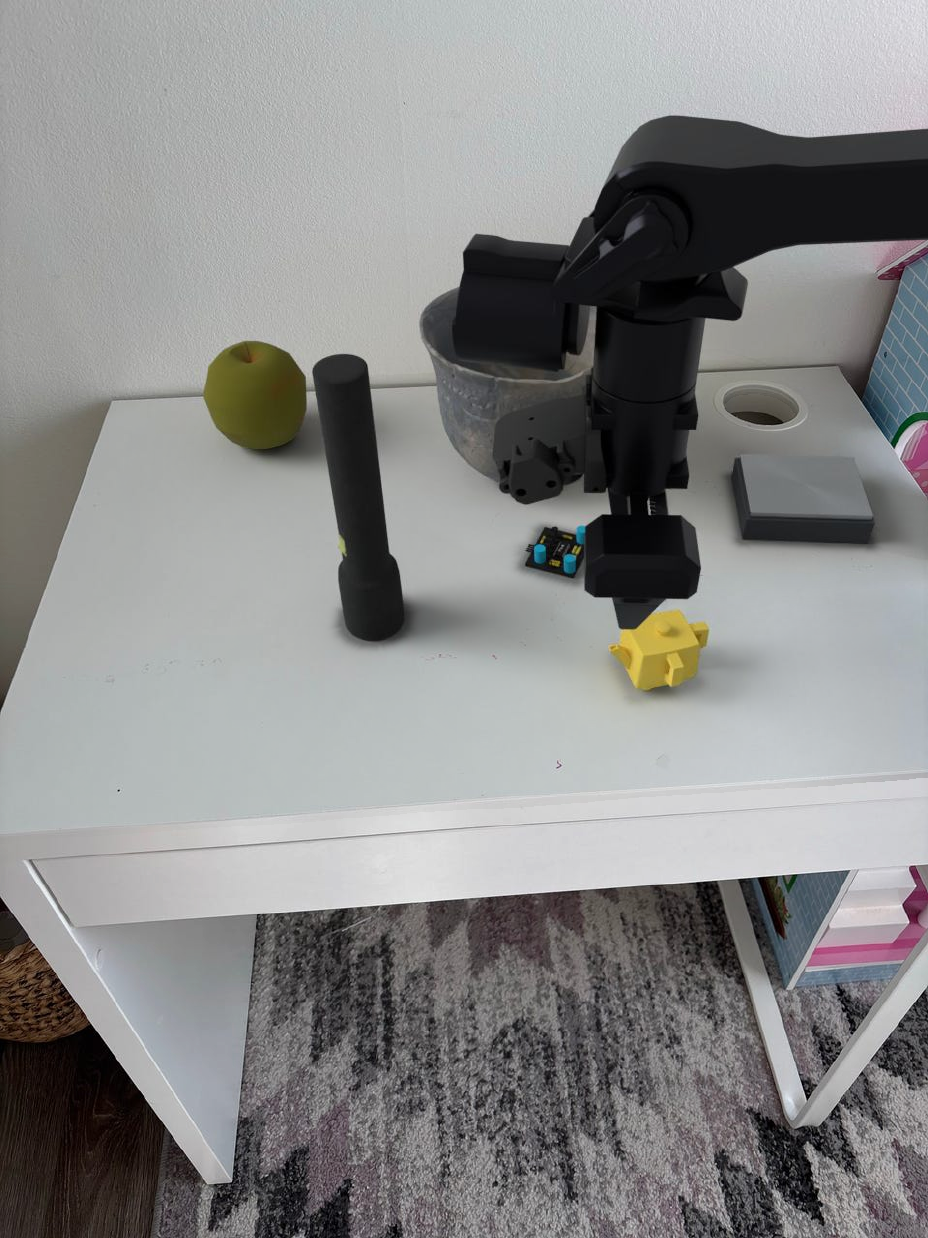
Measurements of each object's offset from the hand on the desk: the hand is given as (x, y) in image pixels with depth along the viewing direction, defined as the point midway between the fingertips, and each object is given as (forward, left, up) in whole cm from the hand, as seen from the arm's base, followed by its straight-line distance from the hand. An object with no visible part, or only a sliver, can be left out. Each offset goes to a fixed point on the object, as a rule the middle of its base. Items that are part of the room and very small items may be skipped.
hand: (624, 577), depth 65 cm
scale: (-18, -24, -13) cm, 32 cm away
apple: (+34, -33, -13) cm, 49 cm away
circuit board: (+4, -17, -13) cm, 22 cm away
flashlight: (+19, -8, -13) cm, 25 cm away
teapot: (-4, -3, -13) cm, 14 cm away
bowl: (+8, -30, -13) cm, 33 cm away
